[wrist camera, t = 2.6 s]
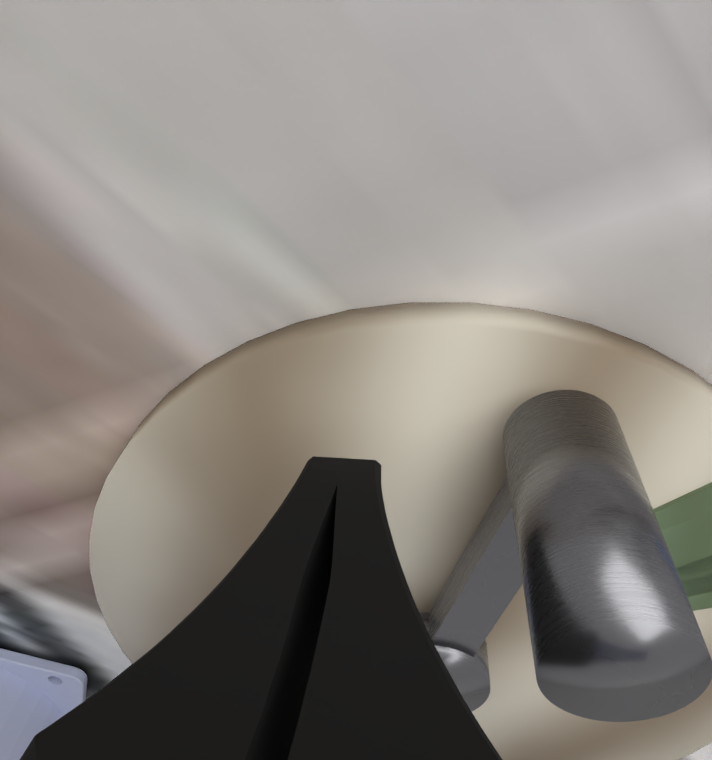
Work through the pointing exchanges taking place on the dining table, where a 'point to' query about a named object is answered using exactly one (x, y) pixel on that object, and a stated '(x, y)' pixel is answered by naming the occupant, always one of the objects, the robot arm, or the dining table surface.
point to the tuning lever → (574, 573)
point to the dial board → (404, 479)
